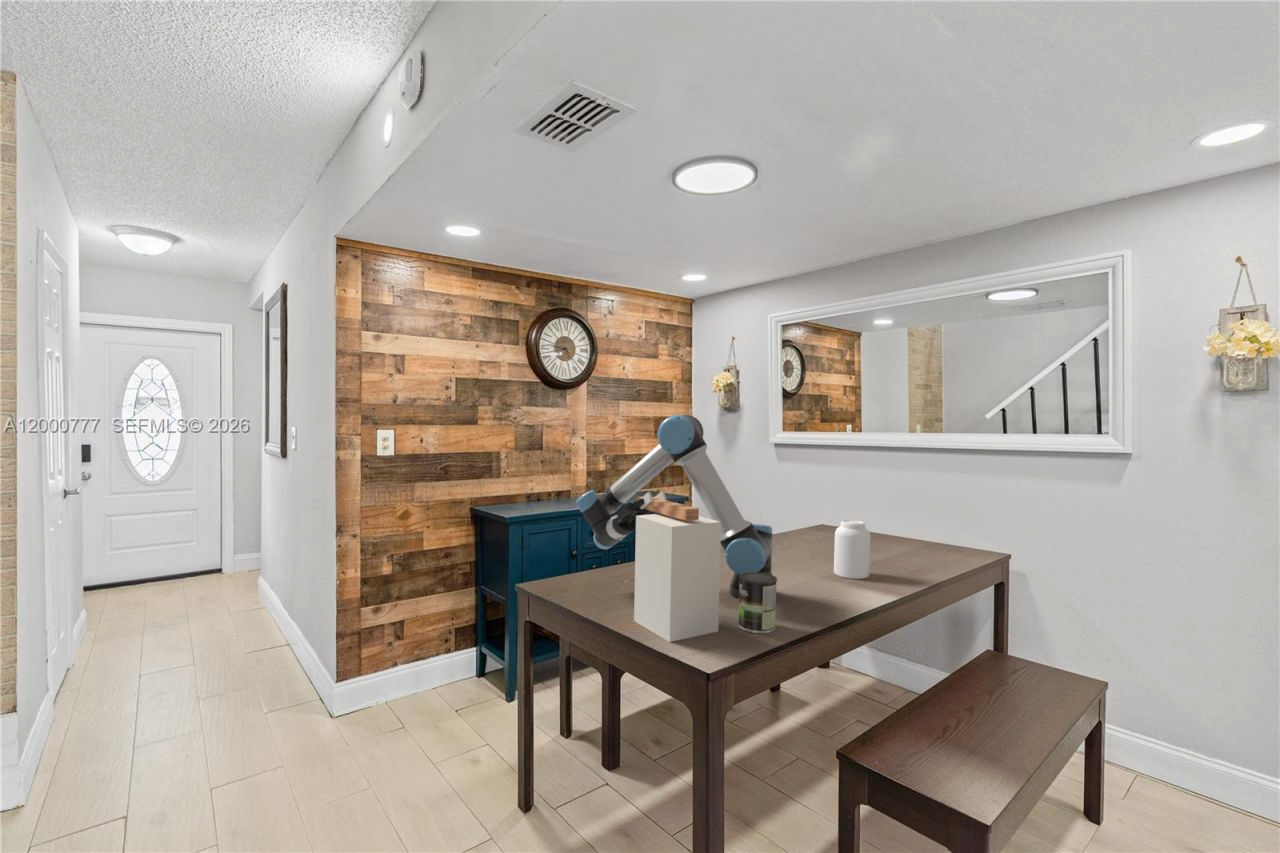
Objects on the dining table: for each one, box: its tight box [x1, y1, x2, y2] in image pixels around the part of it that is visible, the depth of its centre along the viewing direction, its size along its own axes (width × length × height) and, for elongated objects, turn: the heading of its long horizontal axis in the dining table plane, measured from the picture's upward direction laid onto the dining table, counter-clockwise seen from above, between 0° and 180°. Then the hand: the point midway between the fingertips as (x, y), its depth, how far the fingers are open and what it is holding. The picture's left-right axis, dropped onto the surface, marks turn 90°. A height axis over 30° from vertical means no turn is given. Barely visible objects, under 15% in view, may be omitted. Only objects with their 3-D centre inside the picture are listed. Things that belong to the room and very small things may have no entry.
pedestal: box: [633, 513, 721, 643], centre depth 172 cm, size 18×16×30 cm
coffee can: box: [737, 572, 778, 634], centre depth 173 cm, size 10×10×14 cm
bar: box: [635, 495, 700, 521], centre depth 176 cm, size 26×4×3 cm, turn 31°
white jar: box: [833, 519, 872, 580], centre depth 229 cm, size 12×12×20 cm
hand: (657, 495), depth 180 cm, fingers closed on bar, 4 cm apart
